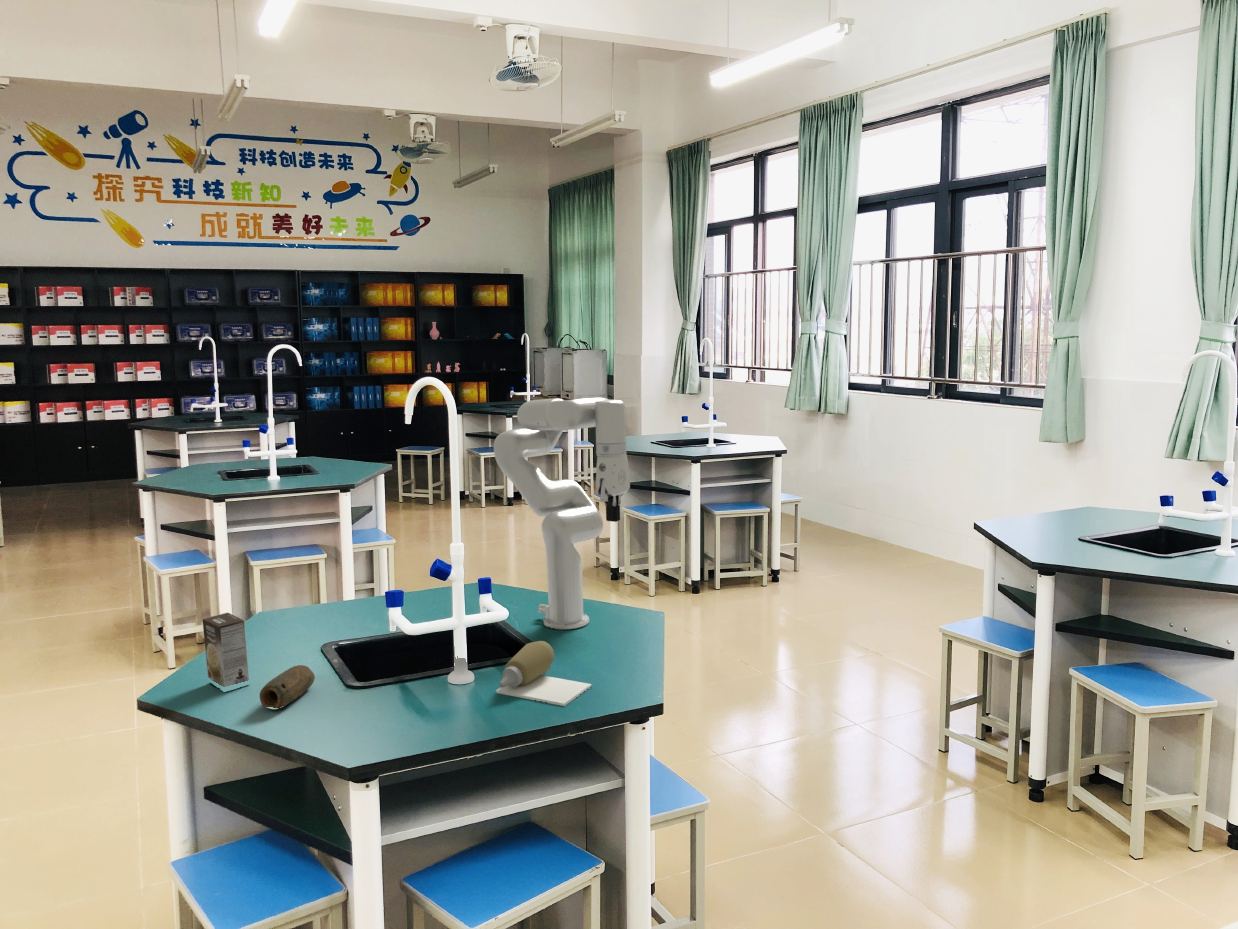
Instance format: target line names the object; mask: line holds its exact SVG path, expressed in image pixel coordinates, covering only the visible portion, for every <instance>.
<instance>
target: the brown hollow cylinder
mask: <svg viewBox="0 0 1238 929" xmlns="http://www.w3.org/2000/svg"><path fill="white" fill-rule="evenodd" d="M315 680H316V678H315V674H314V671H312V670H311V668H310V667H308V666H307V665H303V664H298V665H294V666H292V667H290V668H287V670H285V671H283V672H281V673H280V674H278V675H276V676H275V677H274V678H272V679H271V680H269V681H268V682H267V683H266V684H265V685H264V686H263V687H262V688H261V690H260V692H259V699H260V700H259V701H260V704H261V705H262V706H263V707H264V706H265V707H273V708H280V707H282V706H284V707H286V706H287V705H286V704H288V703H289V704H290V702H291V701H292V702H294V701H295V700H297V699H298V698H299V697H301V694H302V695H303V694H305V692H307V691H308V690H309V689H310V687H311V686H312V685H313V684H314V682H315ZM307 689H308V690H307ZM298 696H299V697H298ZM297 697H298V698H297ZM294 699H295V700H294ZM293 700H294V701H293ZM292 702H291V703H292ZM289 704H288V705H289ZM285 705H286V706H285ZM265 707H264V708H265ZM282 708H283V707H282Z"/></svg>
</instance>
